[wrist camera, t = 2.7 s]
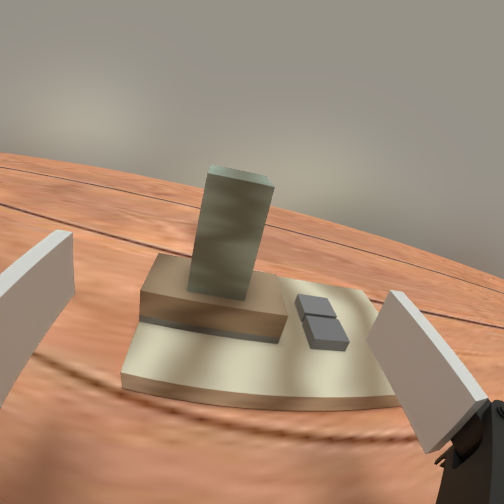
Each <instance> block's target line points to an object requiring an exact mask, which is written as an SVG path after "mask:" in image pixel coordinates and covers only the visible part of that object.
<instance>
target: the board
mask: <svg viewBox="0 0 504 504" xmlns="http://www.w3.org/2000/svg"><path fill="white" fill-rule="evenodd" d="M277 279H278V282H279V286H280V289H281V292H282V295H283V299H284V302H285V305H286V309H287V312H288V315H289V316H288V319H287V321H286V324H285V327H284V330H283V332H282V335H281V338H280V340H279V343H278V344H273V343H264V342H256V341H248V340H241V339H234V338H227V337H221V336H214V335H208V334H202V333H196V332H190V331H185V330H179V329H174V328H169V327H163V326H158V325H153V324H149V323H144V322H139V323H138V326H137V329H136V331H135V334H134V336H133V339H132V342H131V345H130V347H129V350H128V353H127V355H126V358H125V361H124V364H123V367H122V370H121V382H122V388H124V389H129V390H133V391H137V392H142V393H146V394H151V395H156V396H161V397H166V398H172V399H178V400H184V401H190V402H197V403H204V404H211V405H220V406H229V407H239V408H250V409H265V410H285V411H341V410H361V409H375V408H387V407H396V406H401V404H400V402H399V400H398V398H397V397H396V395H395V393H394V391H393V389H392V387H391V385H390V383H389V382H388V380H387V378H386V376H385V374H384V372H383V370H382V369H381V367H380V365H379V363H378V361H377V360H376V358H375V356H374V354H373V352H372V351H371V349H370V347H369V345H368V343H367V342H366V338H367V336H368V334H369V332H370V330H371V328H372V326H373V324H374V322H375V320H376V318H377V316H378V314H379V313H378V312H377V310H376V309H375V307H374V306H373V305H372V303H371V302H370V300H369V299H368V298H367V296H366V295H365V294H364V292H363V291H362V290H357V289H351V288H344V287H338V286H332V285H326V284H320V283H314V282H308V281H302V280H296V279H290V278H284V277H278V276H277ZM297 294H304V295H311V296H317V297H324V298H328V300H329V302H330V304H331V306H332V308H333V310H334V312H335V313H336V315H337V318H336V319H339V321H340V323H341V325H342V327H343V329H344V331H345V333H346V335H347V337H348V339H349V341H350V343H349V345H348V347H347V349H346V351H330V350H317V349H310V347H309V344H308V341H307V338H306V335H305V332H304V329H303V326H302V324H303V322H301V320H300V317H299V315H298V312H297V309H296V306H295V303H294V302H295V299H296V297H297Z"/></svg>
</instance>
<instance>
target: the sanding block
mask: <svg viewBox="0 0 504 504" xmlns="http://www.w3.org/2000/svg"><path fill="white" fill-rule="evenodd" d="M274 188H275V187H274V186H273V185H272V183H271V182H270V180H269V179H268V178H267V176H263V175H259V174H254V173H249V172H245V171H240V170H235V169H231V168H226V167H221V166H216V165H211V168H210V169H209V172H208V175H207V179H206V184H205V189H204V194H203V199H202V204H201V210H200V215H199V220H198V226H197V231H196V237H195V243H194V249H193V255H192V259H188V258H182V257H177V256H172V255H167V254H161V253H159V254H158V256H157V258H156V260H155V262H154V264H153V266H152V268H151V270H150V272H149V274H148V276H147V278H146V280H145V282H144V284H143V286H142V288H141V290H140V312H139V322H144V323H149V324H153V325H158V326H163V327H169V328H174V329H179V330H185V331H190V332H196V333H202V334H208V335H214V336H221V337H227V338H234V339H241V340H248V341H256V342H264V343H273V344H278V343H279V340H280V338H281V335H282V332H283V330H284V327H285V324H286V321H287V319H288V316H289V315H288V312H287V309H286V305H285V302H284V299H283V295H282V292H281V289H280V286H279V282H278V279H277V276H276V274H270V273H264V272H259V271H253V268H254V264H255V260H256V256H257V253H258V249H259V245H260V241H261V237H262V234H263V230H264V226H265V222H266V218H267V215H268V211H269V207H270V203H271V199H272V195H273V192H274Z"/></svg>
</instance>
